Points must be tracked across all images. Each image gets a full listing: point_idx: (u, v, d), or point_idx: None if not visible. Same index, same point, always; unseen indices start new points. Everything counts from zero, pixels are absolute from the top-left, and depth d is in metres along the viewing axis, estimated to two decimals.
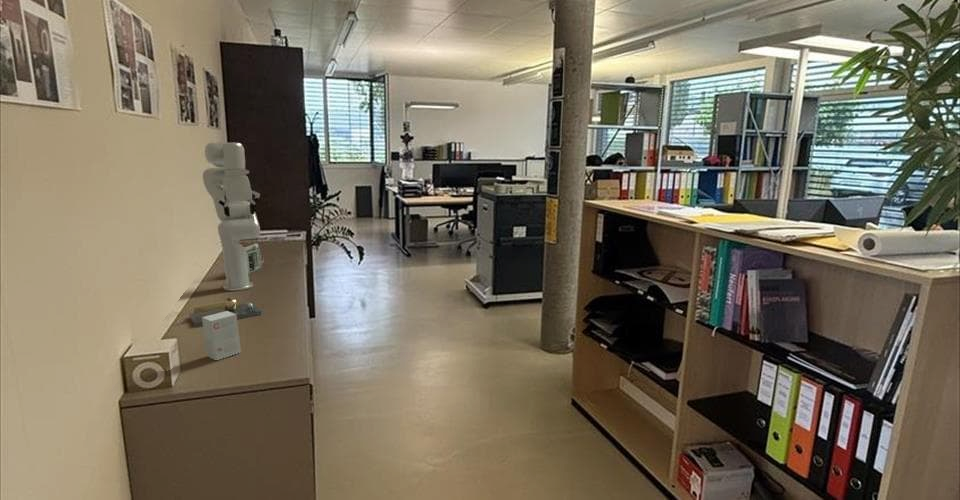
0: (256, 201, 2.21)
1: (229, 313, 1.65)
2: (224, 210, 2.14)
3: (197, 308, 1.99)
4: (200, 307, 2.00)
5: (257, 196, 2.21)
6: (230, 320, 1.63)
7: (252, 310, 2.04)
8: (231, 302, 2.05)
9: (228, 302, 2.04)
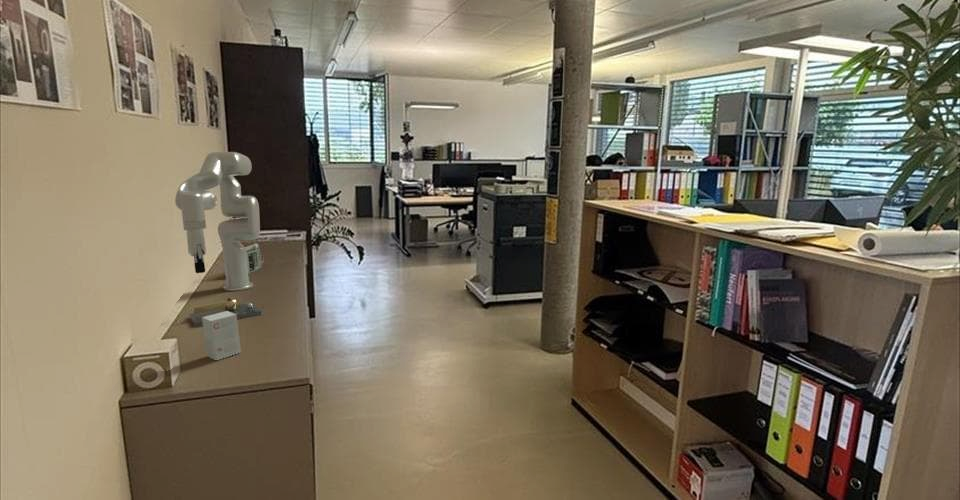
0: None
1: (229, 313, 1.65)
2: (200, 266, 2.02)
3: (197, 308, 1.99)
4: (200, 307, 2.00)
5: None
6: (230, 320, 1.63)
7: (252, 310, 2.04)
8: (231, 302, 2.05)
9: (228, 302, 2.04)
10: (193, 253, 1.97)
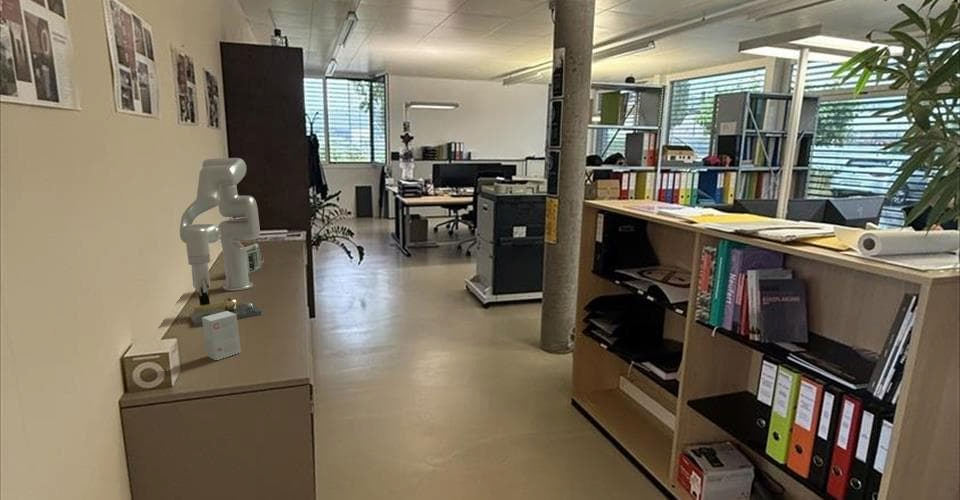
0: None
1: (229, 313, 1.65)
2: (204, 299, 2.05)
3: (197, 308, 1.99)
4: (200, 307, 2.00)
5: None
6: (230, 320, 1.63)
7: (252, 310, 2.04)
8: (231, 302, 2.05)
9: (228, 302, 2.04)
10: (198, 287, 2.00)
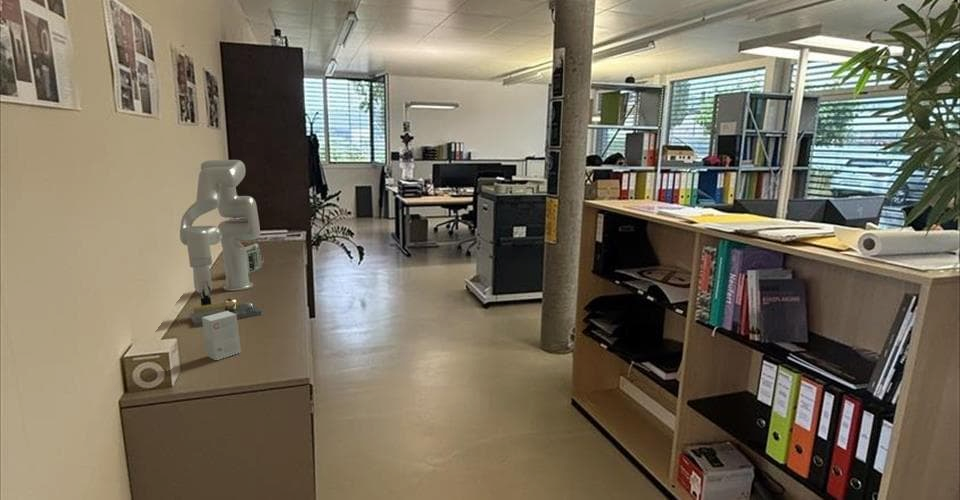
0: None
1: (229, 313, 1.65)
2: (206, 302, 2.02)
3: (197, 308, 1.99)
4: (200, 307, 2.00)
5: None
6: (230, 320, 1.63)
7: (252, 310, 2.04)
8: (231, 302, 2.05)
9: (228, 302, 2.04)
10: (199, 290, 1.97)
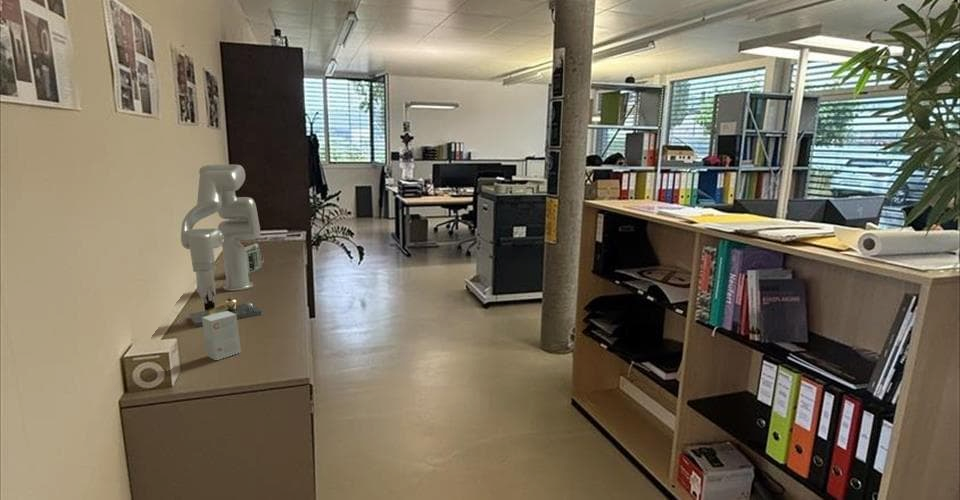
0: None
1: (229, 313, 1.65)
2: (209, 307, 1.98)
3: (211, 311, 1.95)
4: (213, 310, 1.96)
5: None
6: (230, 320, 1.63)
7: (252, 310, 2.04)
8: (235, 301, 2.06)
9: (232, 301, 2.05)
10: (203, 295, 1.93)
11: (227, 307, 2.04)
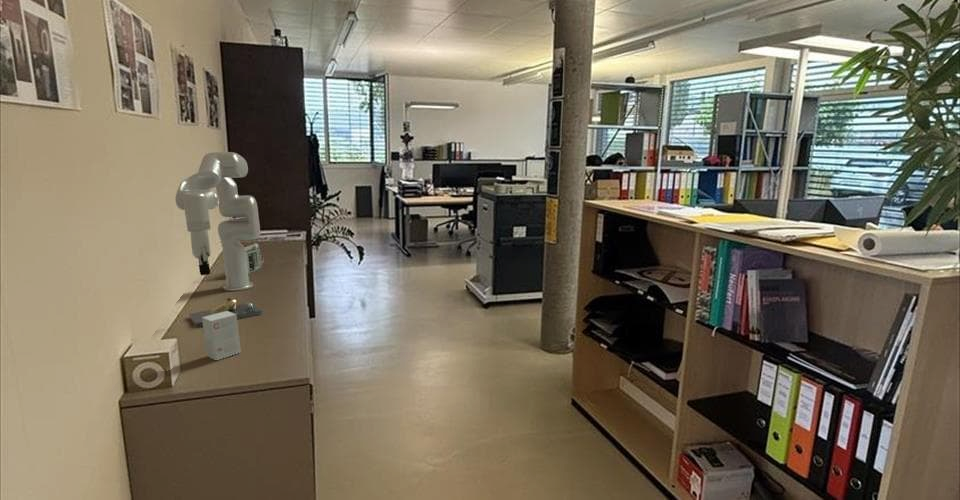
0: None
1: (229, 313, 1.65)
2: (204, 268, 1.96)
3: (216, 311, 1.95)
4: (218, 310, 1.96)
5: None
6: (230, 320, 1.63)
7: (252, 310, 2.04)
8: (235, 301, 2.06)
9: (233, 301, 2.05)
10: (197, 255, 1.90)
11: (228, 307, 2.04)
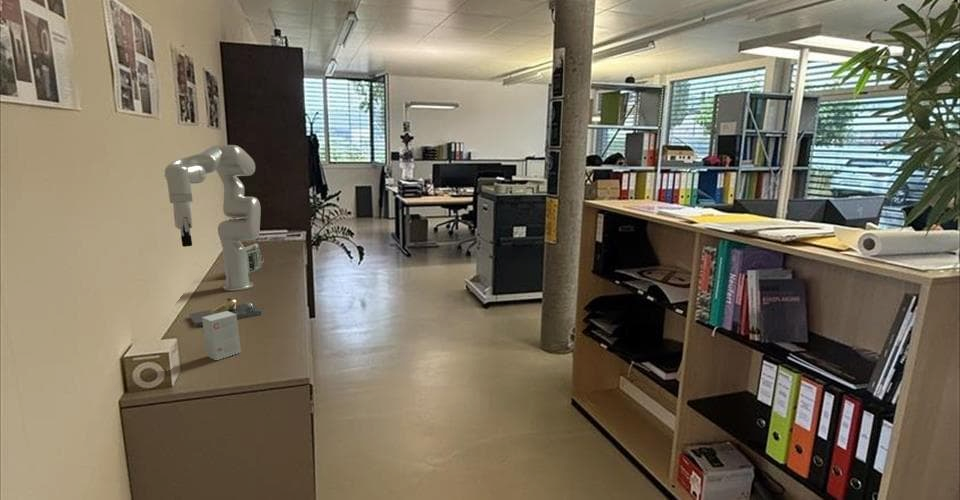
0: None
1: (229, 313, 1.65)
2: (186, 240, 2.02)
3: (216, 311, 1.95)
4: (218, 310, 1.96)
5: None
6: (230, 320, 1.63)
7: (252, 310, 2.04)
8: (235, 301, 2.06)
9: (233, 301, 2.05)
10: (179, 226, 1.97)
11: (228, 307, 2.04)
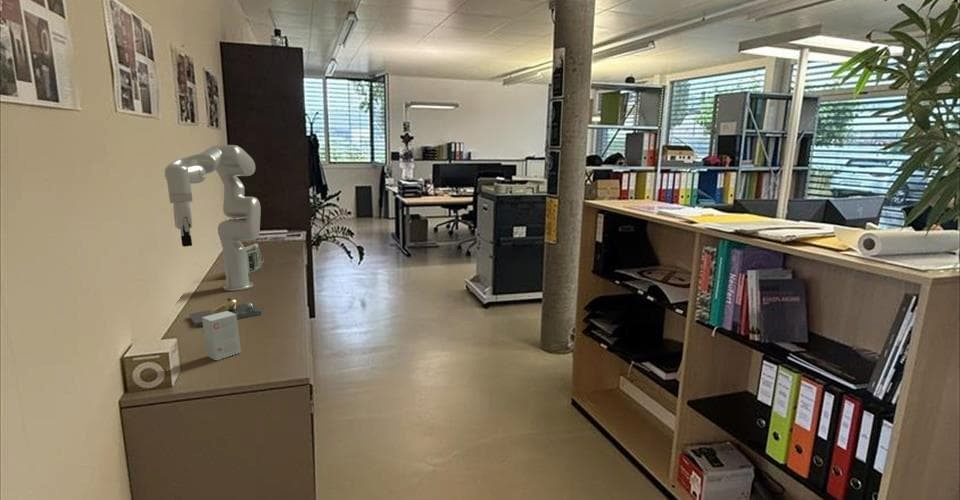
0: None
1: (229, 313, 1.65)
2: (186, 240, 2.02)
3: (216, 311, 1.95)
4: (218, 310, 1.96)
5: None
6: (230, 320, 1.63)
7: (252, 310, 2.04)
8: (235, 301, 2.06)
9: (233, 301, 2.05)
10: (179, 226, 1.97)
11: (228, 307, 2.04)
